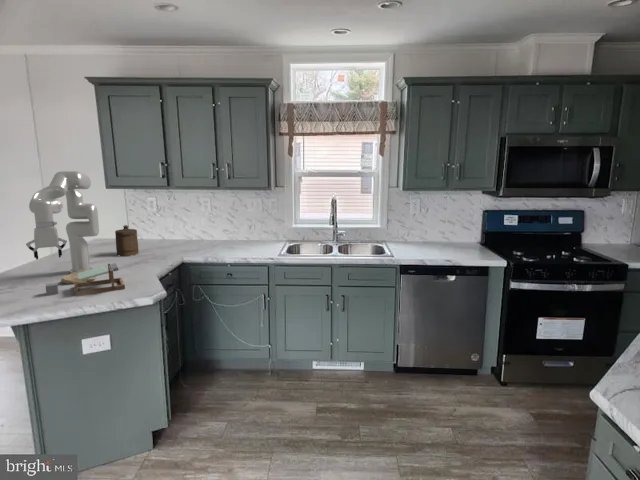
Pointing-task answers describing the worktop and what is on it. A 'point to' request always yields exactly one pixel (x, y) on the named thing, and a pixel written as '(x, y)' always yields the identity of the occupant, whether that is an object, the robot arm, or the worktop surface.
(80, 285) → the frame
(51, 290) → the block
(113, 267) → the trapdoor
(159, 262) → the worktop surface
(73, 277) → the rock
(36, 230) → the robot arm
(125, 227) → the wooden container
